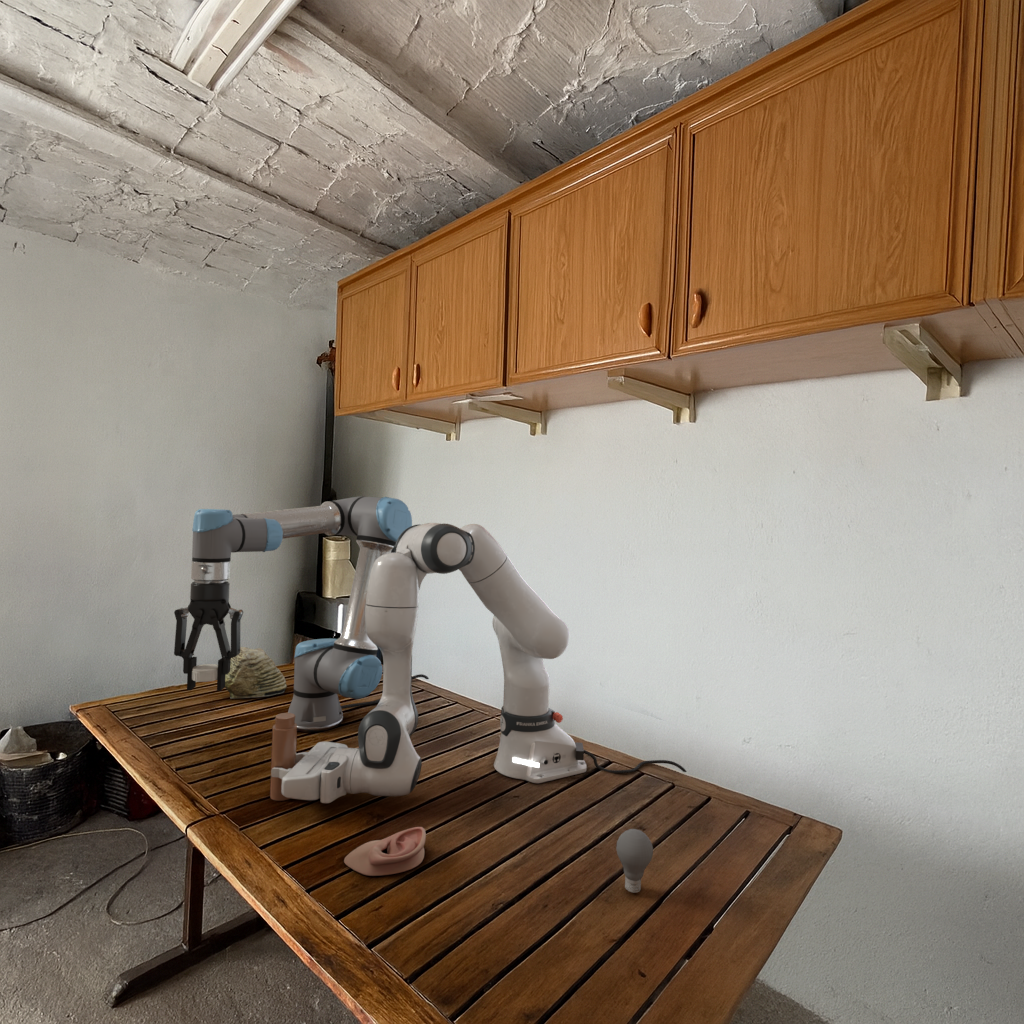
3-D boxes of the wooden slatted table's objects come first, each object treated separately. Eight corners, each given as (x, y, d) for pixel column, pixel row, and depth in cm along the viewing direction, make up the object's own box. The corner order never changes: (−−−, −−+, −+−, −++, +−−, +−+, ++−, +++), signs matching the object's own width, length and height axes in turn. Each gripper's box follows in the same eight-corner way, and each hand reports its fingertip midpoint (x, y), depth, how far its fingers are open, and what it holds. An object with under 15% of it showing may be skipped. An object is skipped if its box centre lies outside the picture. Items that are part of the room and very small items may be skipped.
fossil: (218, 695, 195) (220, 647, 195) (278, 685, 208) (279, 640, 207) (228, 703, 189) (230, 653, 188) (289, 692, 201) (290, 645, 201)
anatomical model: (336, 847, 108) (365, 815, 119) (335, 870, 108) (364, 836, 119) (410, 859, 105) (432, 825, 116) (409, 883, 105) (431, 846, 116)
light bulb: (610, 879, 108) (613, 822, 108) (644, 879, 109) (647, 822, 109) (619, 902, 102) (622, 840, 102) (655, 901, 103) (658, 840, 103)
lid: (212, 682, 133) (213, 671, 133) (186, 681, 133) (186, 670, 133) (225, 675, 139) (226, 664, 139) (200, 674, 139) (200, 663, 139)
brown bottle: (287, 802, 131) (290, 720, 131) (265, 799, 132) (268, 718, 131) (298, 791, 136) (301, 712, 135) (277, 789, 136) (280, 710, 136)
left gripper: (157, 581, 131) (152, 693, 131) (249, 584, 133) (244, 694, 133) (173, 577, 138) (168, 682, 139) (260, 580, 140) (255, 684, 141)
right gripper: (359, 736, 143) (299, 732, 144) (326, 775, 122) (257, 770, 123) (358, 764, 143) (298, 759, 144) (325, 807, 123) (256, 802, 124)
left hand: (206, 688), depth 136 cm, fingers closed on lid, 5 cm apart
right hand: (279, 764), depth 134 cm, fingers closed on brown bottle, 5 cm apart
